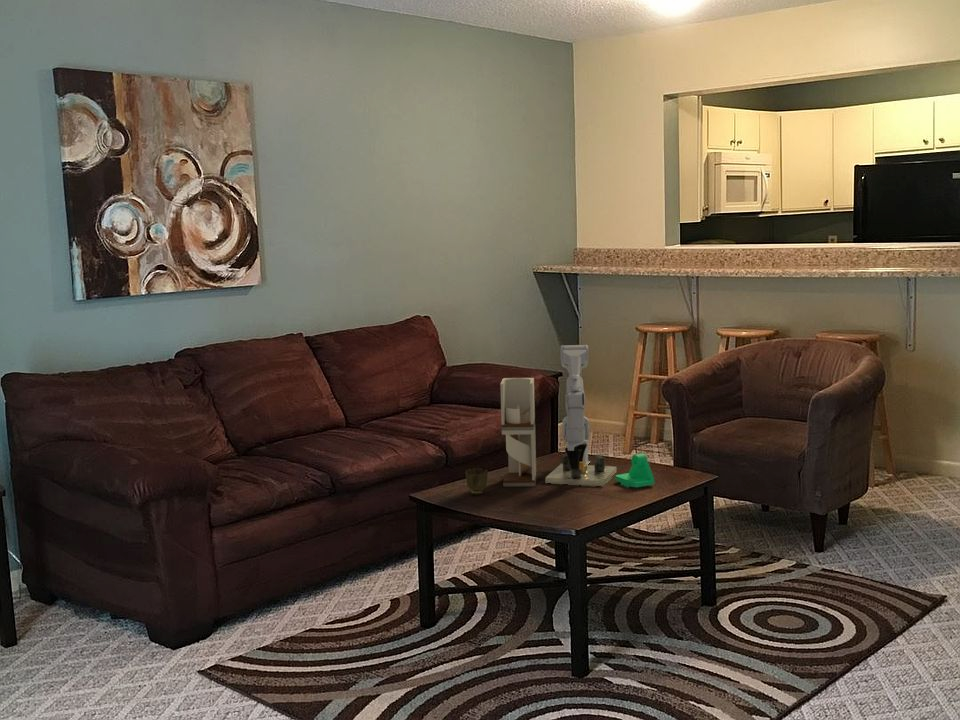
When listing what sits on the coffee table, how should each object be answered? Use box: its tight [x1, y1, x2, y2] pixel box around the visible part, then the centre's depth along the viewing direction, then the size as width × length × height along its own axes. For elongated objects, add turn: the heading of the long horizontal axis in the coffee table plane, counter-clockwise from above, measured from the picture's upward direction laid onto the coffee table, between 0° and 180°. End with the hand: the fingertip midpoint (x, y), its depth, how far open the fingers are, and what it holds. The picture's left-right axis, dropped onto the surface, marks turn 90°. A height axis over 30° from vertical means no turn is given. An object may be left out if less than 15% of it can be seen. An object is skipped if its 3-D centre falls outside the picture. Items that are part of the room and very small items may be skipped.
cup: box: [464, 467, 489, 496], centre depth 348 cm, size 8×7×8 cm
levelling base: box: [544, 454, 618, 488], centre depth 365 cm, size 20×20×7 cm
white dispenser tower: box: [499, 377, 537, 487], centre depth 360 cm, size 11×11×35 cm
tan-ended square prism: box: [568, 462, 585, 478], centre depth 358 cm, size 5×4×5 cm
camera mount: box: [615, 452, 656, 488], centre depth 353 cm, size 12×8×10 cm, turn 29°
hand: (576, 466), depth 358 cm, fingers open, 5 cm apart
